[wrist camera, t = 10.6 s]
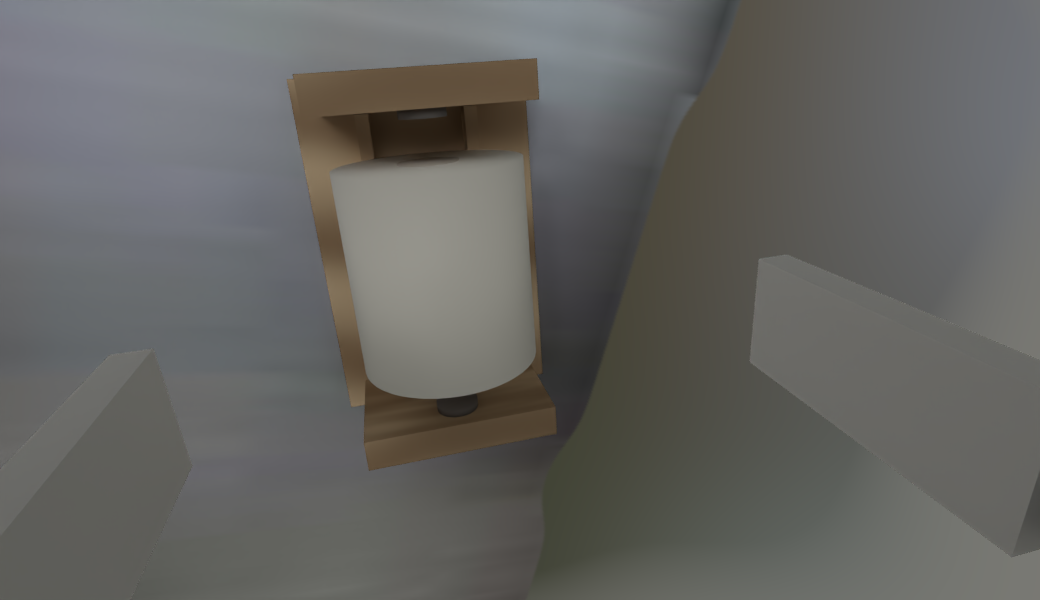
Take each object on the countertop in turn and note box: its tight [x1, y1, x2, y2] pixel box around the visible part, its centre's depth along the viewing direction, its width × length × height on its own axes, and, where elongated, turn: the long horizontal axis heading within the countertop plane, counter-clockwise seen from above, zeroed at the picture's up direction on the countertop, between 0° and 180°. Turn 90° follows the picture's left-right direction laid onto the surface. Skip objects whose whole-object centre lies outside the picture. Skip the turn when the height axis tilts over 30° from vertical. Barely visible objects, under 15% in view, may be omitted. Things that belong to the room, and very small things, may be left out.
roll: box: [329, 150, 536, 399], centre depth 26 cm, size 9×8×8 cm
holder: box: [287, 58, 557, 471], centre depth 28 cm, size 17×11×7 cm, turn 4°
